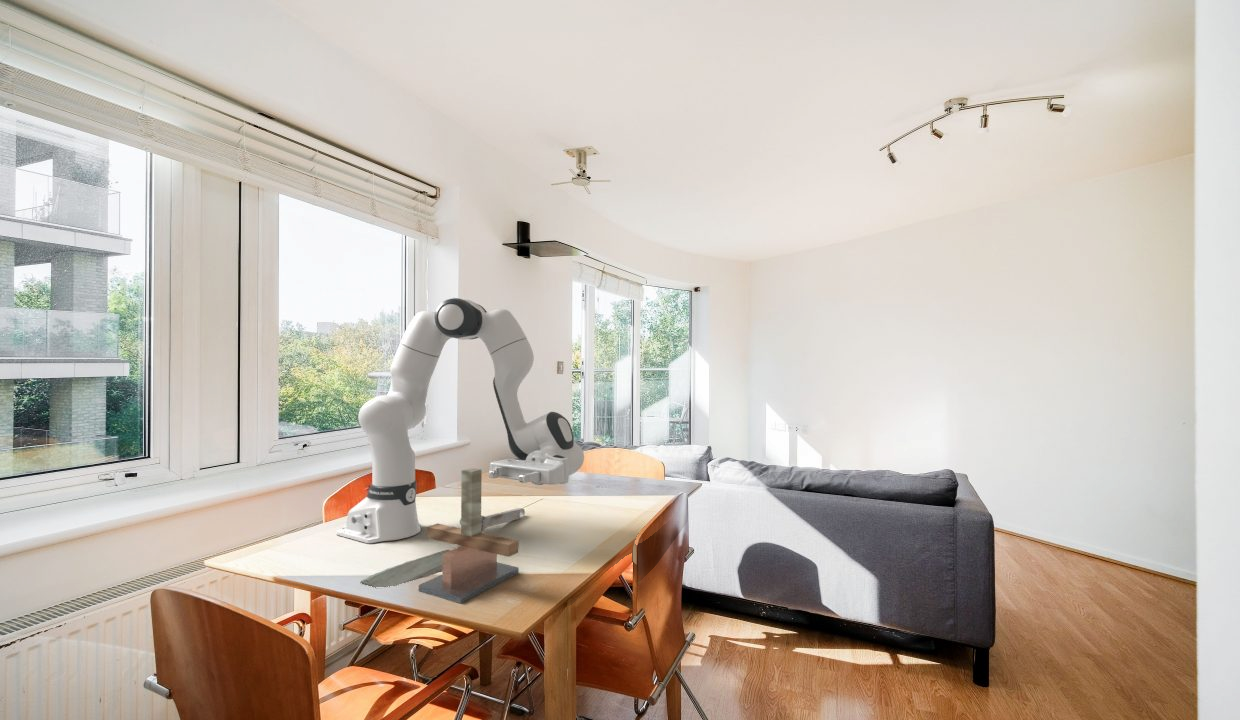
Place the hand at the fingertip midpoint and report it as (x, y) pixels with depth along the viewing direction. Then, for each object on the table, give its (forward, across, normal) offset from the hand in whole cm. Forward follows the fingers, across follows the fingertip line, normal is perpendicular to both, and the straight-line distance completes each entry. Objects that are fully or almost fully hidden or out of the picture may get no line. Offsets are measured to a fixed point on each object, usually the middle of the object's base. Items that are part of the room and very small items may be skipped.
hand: (505, 476), depth 128 cm
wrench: (-19, -20, +21) cm, 35 cm away
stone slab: (+13, -15, +22) cm, 30 cm away
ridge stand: (+11, 0, +21) cm, 24 cm away
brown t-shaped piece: (+11, 0, +13) cm, 17 cm away
